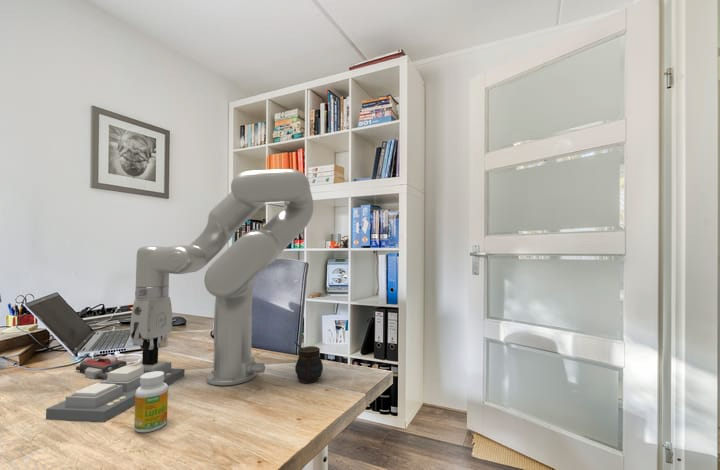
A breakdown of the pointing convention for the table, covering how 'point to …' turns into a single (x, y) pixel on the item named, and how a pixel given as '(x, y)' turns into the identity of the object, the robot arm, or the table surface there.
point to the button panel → (107, 399)
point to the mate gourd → (309, 364)
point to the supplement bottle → (151, 402)
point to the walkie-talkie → (100, 366)
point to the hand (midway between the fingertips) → (150, 363)
